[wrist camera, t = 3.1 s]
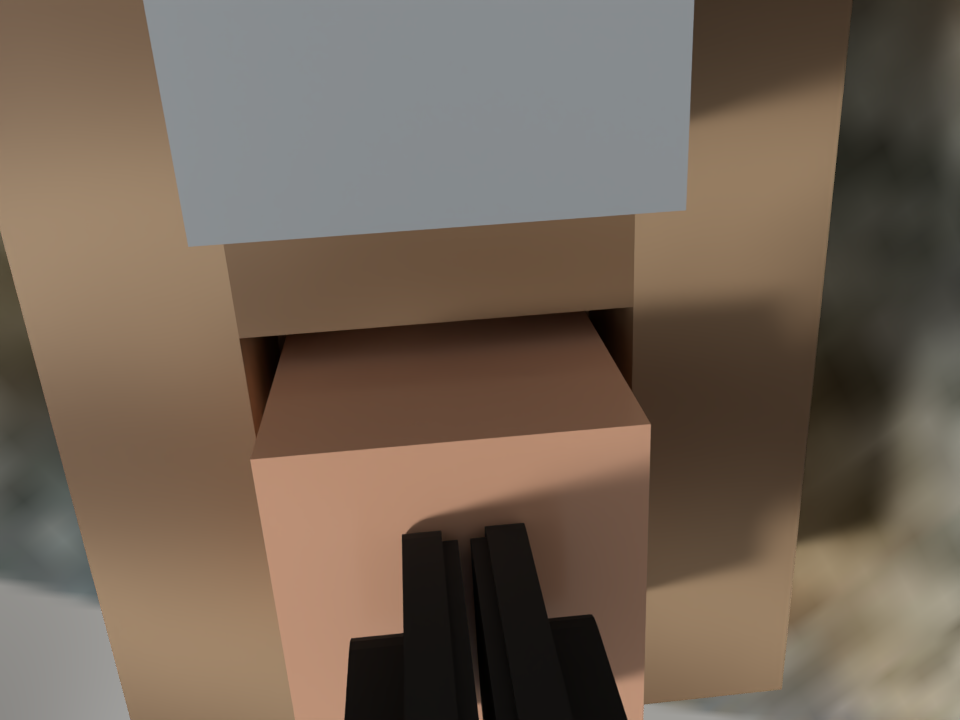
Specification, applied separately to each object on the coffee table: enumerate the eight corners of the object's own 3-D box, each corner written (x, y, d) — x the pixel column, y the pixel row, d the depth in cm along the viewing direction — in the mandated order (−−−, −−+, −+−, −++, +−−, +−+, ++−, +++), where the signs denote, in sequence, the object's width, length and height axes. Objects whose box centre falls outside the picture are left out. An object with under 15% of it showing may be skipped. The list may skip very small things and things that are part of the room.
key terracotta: (289, 323, 15) (249, 459, 11) (578, 299, 16) (651, 424, 11) (324, 564, 17) (301, 762, 13) (580, 540, 18) (643, 725, 13)
